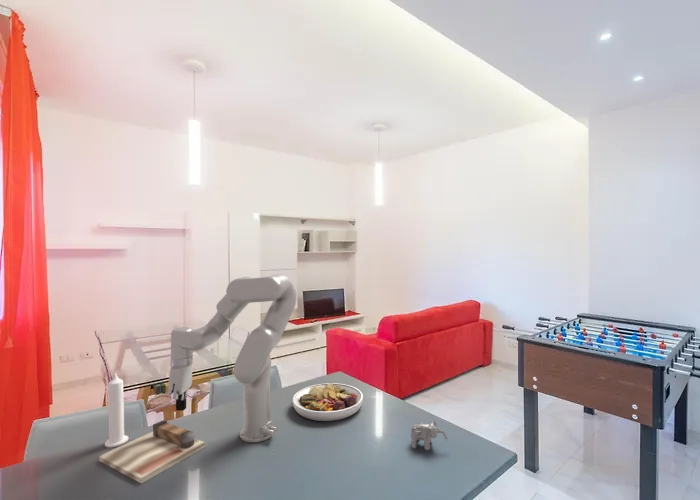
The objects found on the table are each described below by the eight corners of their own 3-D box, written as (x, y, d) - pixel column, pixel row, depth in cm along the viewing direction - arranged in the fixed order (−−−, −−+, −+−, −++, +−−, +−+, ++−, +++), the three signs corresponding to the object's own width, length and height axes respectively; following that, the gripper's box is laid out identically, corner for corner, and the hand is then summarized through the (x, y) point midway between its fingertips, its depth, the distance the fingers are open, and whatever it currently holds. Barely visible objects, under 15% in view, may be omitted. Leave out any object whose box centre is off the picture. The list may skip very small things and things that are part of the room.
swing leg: (197, 442, 123) (196, 431, 123) (185, 449, 119) (185, 437, 119) (164, 430, 132) (163, 419, 132) (152, 435, 128) (152, 424, 128)
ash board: (205, 446, 123) (205, 442, 123) (141, 483, 104) (141, 478, 104) (163, 430, 135) (163, 426, 135) (99, 460, 116) (99, 456, 116)
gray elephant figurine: (409, 439, 127) (408, 417, 127) (443, 437, 126) (442, 416, 126) (413, 454, 117) (411, 431, 117) (449, 452, 117) (448, 429, 117)
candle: (116, 448, 123) (115, 376, 123) (99, 446, 125) (98, 375, 125) (133, 437, 130) (131, 369, 130) (116, 436, 131) (115, 368, 131)
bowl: (278, 412, 149) (277, 393, 149) (323, 388, 174) (322, 372, 174) (334, 432, 132) (334, 411, 132) (376, 403, 157) (375, 385, 157)
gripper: (181, 355, 141) (180, 400, 141) (161, 367, 126) (160, 419, 126) (199, 355, 141) (199, 401, 141) (182, 367, 126) (181, 419, 126)
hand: (181, 409), depth 134 cm, fingers closed
